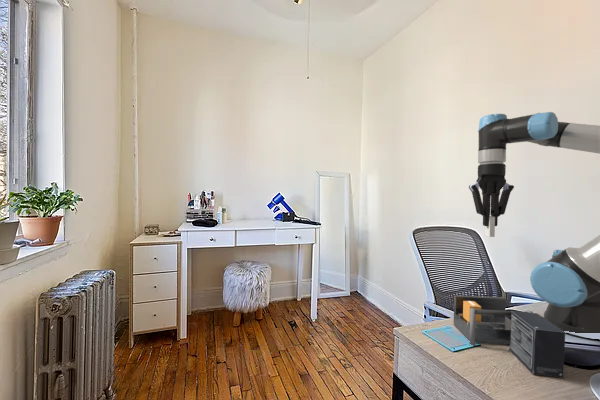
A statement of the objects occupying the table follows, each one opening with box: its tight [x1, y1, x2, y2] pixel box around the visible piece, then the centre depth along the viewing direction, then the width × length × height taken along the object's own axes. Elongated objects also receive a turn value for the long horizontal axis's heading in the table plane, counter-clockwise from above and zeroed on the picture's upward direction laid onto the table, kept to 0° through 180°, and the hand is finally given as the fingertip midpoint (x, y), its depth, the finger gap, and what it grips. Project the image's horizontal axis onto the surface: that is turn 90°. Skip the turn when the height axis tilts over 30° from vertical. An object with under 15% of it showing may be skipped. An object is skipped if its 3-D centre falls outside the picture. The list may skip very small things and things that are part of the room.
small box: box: [509, 310, 566, 379], centre depth 68 cm, size 11×6×10 cm, turn 168°
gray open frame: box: [469, 308, 534, 347], centre depth 76 cm, size 15×1×10 cm, turn 84°
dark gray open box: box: [453, 294, 511, 346], centre depth 82 cm, size 14×10×9 cm
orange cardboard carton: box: [463, 301, 481, 322], centre depth 81 cm, size 3×4×5 cm
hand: (489, 236), depth 94 cm, fingers closed
